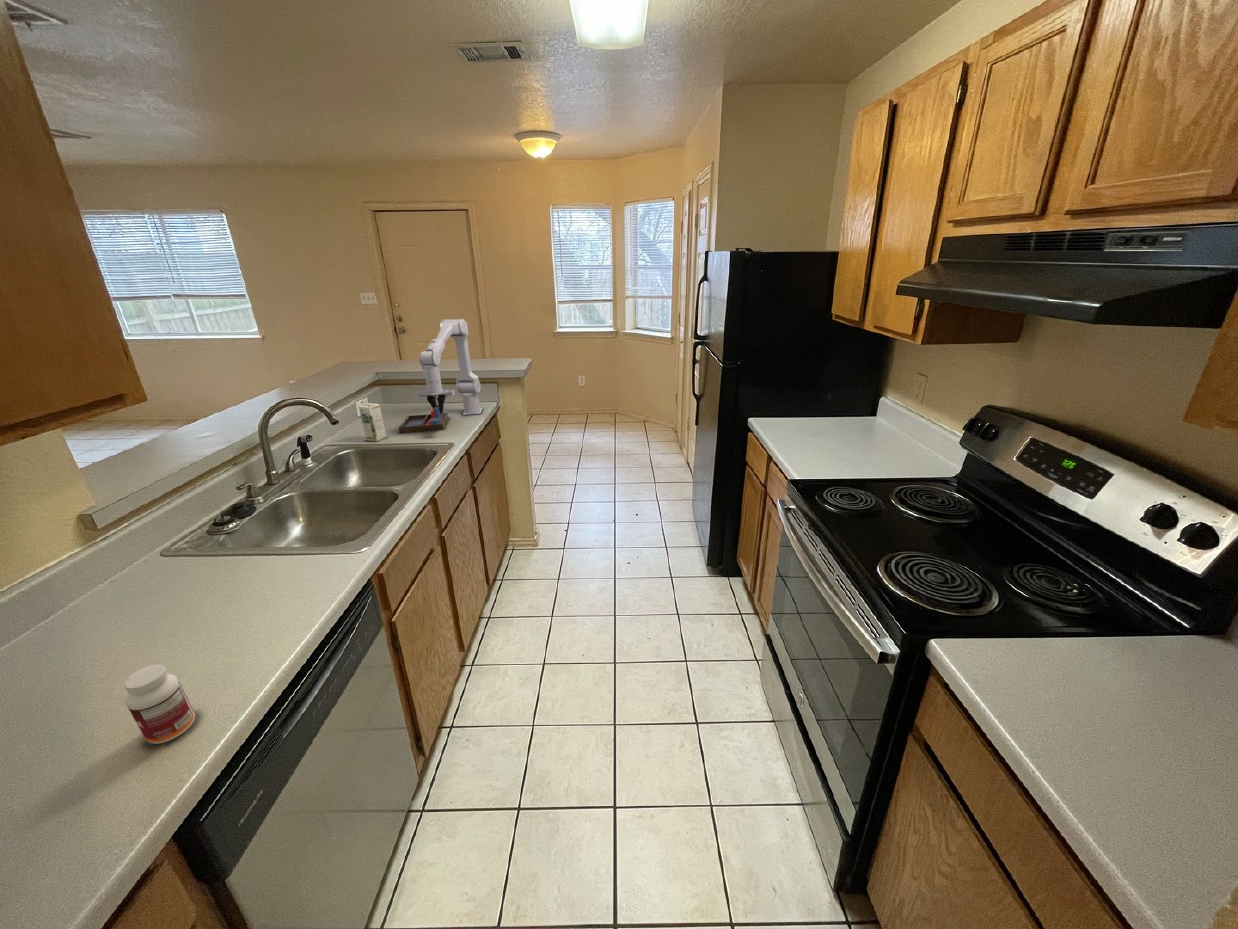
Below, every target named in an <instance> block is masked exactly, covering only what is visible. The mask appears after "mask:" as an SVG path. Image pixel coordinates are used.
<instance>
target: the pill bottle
mask: <svg viewBox="0 0 1238 929" xmlns="http://www.w3.org/2000/svg"><path fill="white" fill-rule="evenodd" d="M123 686H124V688H125V690H126V692H127V693H128V694H127V695H126V698H125V705H126V707H127V709H128V710H129V713H130V714H131V716H132V718H133V719H134V722H135V723H136V724H137V727H138V729H139V730H140V732H141V734H142V735H143V738H144V739H145V741H146V742H148V743H149V744H154V745H159V744H164V743H167V742H170V741H172V740H174V739H176V738H178V737H179V736H181V735H183V734H184V733H185V732H186V731H188V730H189V728H191V727H192V725H193V723H194V721H195V719H196V713H195V711H194V709H193V707H192V705H191V703H190V701H189V699H188V696H187V694H186V692H185V690H184V688H183V686H182V684H181V682H180V680H179V678H178V677H177V676H175V675H174V674H171V673H168V671H167V669H166V667H165V666H164V665H162V664H151V665H149V666H145V667H142V668H141V669H139V670H137V671H135V672H134V673H132V674H131V675H130V676H129V677H127V678H126V680H125V681H124V685H123Z"/></svg>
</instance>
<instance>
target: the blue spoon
mask: <svg viewBox="0 0 1238 929" xmlns="http://www.w3.org/2000/svg"><path fill="white" fill-rule="evenodd" d="M436 405H437V406H436V407H435V408H434V409H433V408H432V409H433V411H434V416H435V418H432V419H430V423H431V425H439V424H441V423H442V420H441V419H442V418H443V417H444V416H445V415H444V413H445V409H444V408H443V413H441V414H440V409H439V404H438V403H437V404H436Z"/></svg>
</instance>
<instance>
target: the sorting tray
mask: <svg viewBox="0 0 1238 929" xmlns="http://www.w3.org/2000/svg"><path fill="white" fill-rule="evenodd" d="M444 415H445V416H444V417H443V418H442V419H441V420H442V423H441V424H439V425H428V421H430V419H432V417H431V413H428V414H427V413H425V414H415V415H407V416H406V417H405V419H403V421H402V422H401V424H400V425H399V426H398V430H399V434H403V433H404V434H405V433H415V432H416V433H418V432H429V431H441V430H444V429H445V427H446V425H447V423H448V421H449V412H444Z"/></svg>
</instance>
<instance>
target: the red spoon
mask: <svg viewBox="0 0 1238 929" xmlns="http://www.w3.org/2000/svg"><path fill="white" fill-rule="evenodd" d="M430 414H431V417H432V418H435V416H434V411H433V408H432V409H431V410H430ZM428 425H431V423H430V421H428Z"/></svg>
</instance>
